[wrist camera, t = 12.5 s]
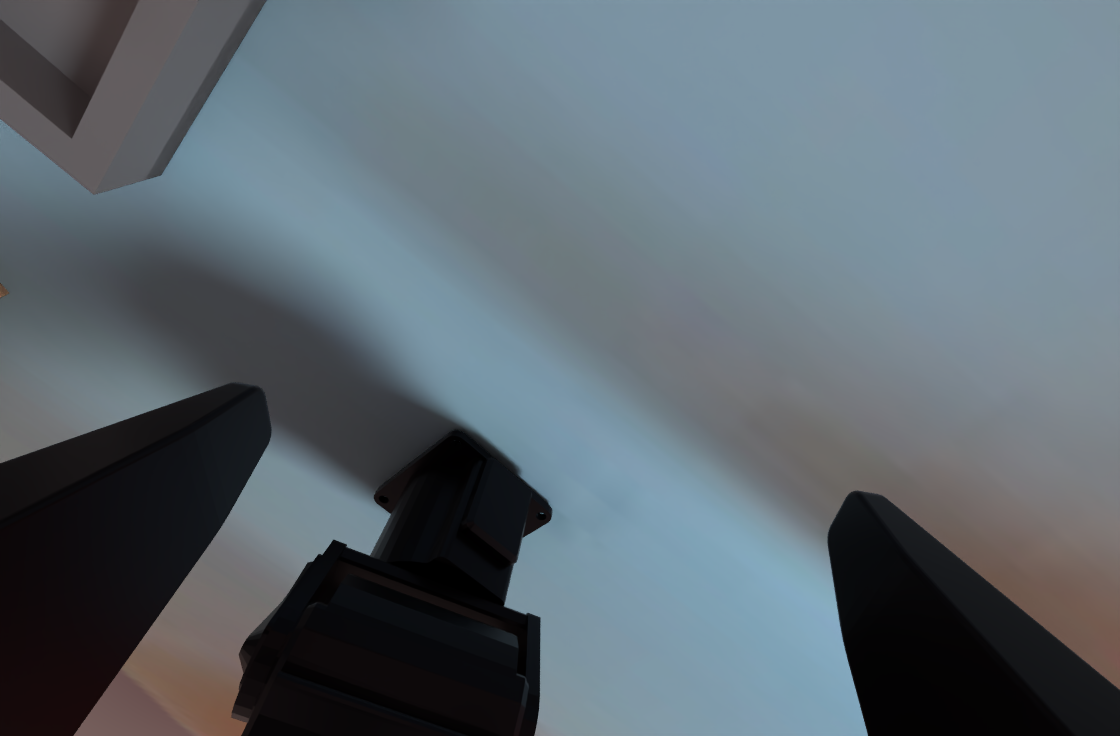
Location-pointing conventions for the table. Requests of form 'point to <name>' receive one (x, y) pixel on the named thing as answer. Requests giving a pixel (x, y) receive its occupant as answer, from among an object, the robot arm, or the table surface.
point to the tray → (113, 78)
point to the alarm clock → (3, 291)
